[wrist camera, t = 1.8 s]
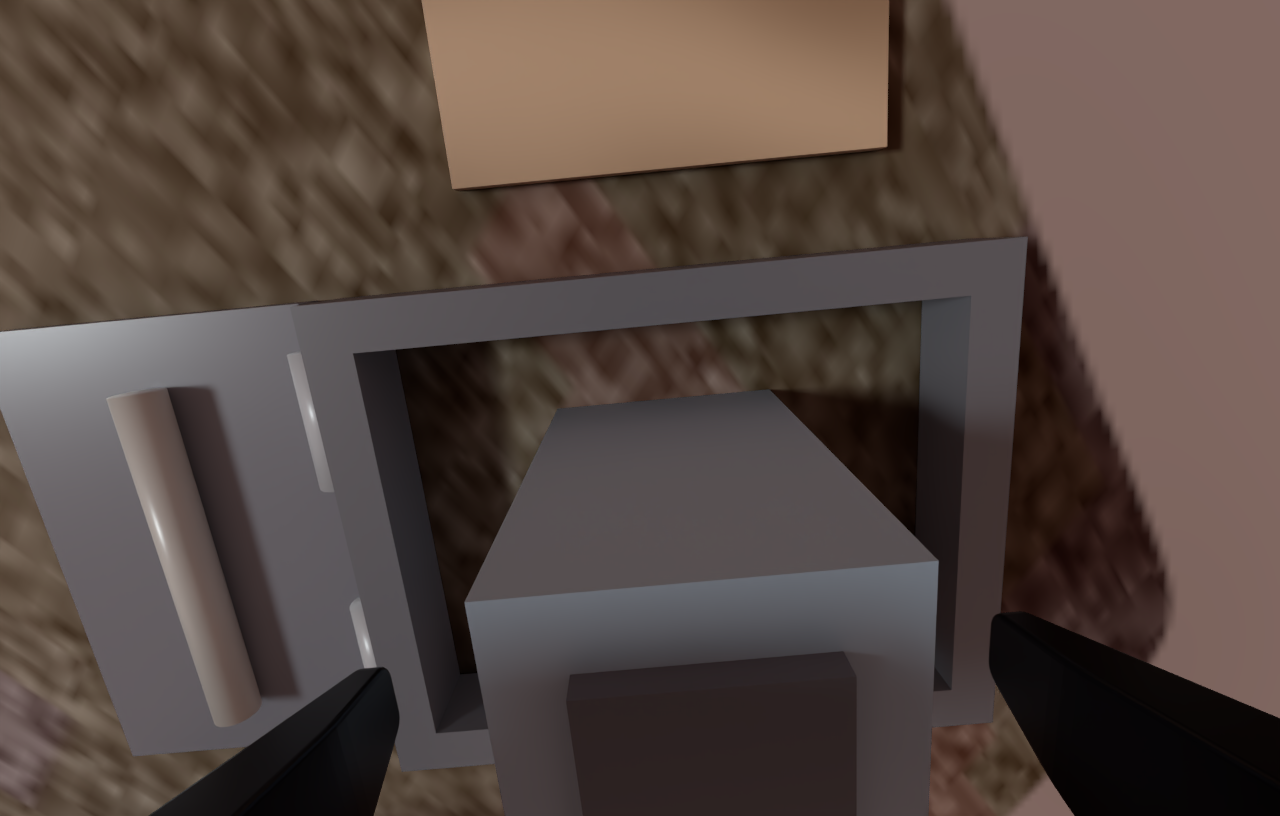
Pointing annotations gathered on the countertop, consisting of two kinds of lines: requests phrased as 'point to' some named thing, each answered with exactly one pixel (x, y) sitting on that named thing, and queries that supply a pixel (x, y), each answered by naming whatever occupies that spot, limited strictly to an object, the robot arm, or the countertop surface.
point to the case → (392, 488)
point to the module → (703, 623)
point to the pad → (652, 84)
